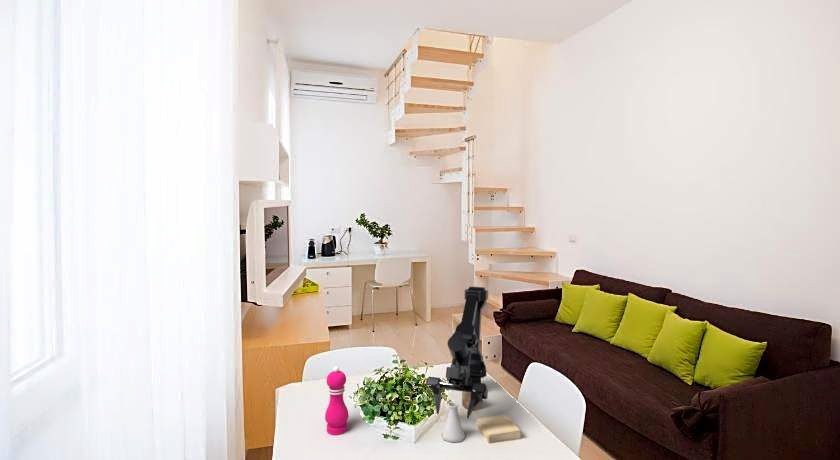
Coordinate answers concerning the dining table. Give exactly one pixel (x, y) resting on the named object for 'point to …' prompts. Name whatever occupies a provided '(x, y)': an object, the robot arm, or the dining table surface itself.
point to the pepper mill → (336, 403)
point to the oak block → (498, 428)
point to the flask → (453, 425)
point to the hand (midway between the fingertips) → (452, 415)
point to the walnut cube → (466, 401)
